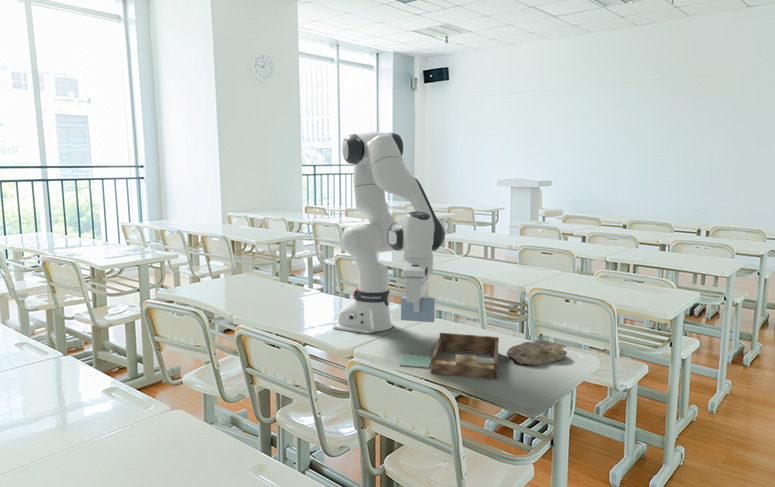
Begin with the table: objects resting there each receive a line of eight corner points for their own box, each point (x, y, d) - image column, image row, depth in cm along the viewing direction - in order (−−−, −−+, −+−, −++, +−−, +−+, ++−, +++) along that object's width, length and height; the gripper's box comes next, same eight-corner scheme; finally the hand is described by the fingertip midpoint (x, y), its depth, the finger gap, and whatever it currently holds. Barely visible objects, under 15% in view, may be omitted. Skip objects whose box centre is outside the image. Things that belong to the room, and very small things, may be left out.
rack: (430, 373, 160) (431, 355, 159) (439, 348, 181) (440, 332, 181) (496, 379, 156) (497, 360, 155) (498, 353, 177) (498, 337, 176)
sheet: (401, 320, 167) (401, 297, 166) (402, 318, 169) (402, 296, 168) (433, 322, 165) (433, 299, 164) (434, 320, 167) (434, 298, 166)
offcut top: (455, 366, 160) (455, 358, 159) (455, 362, 163) (455, 354, 162) (476, 367, 159) (476, 359, 159) (475, 363, 162) (476, 355, 162)
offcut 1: (435, 371, 162) (435, 363, 162) (436, 367, 165) (436, 360, 165) (455, 373, 161) (455, 365, 161) (456, 369, 164) (456, 361, 163)
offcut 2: (472, 375, 160) (472, 367, 159) (473, 371, 163) (473, 363, 162) (493, 377, 158) (493, 368, 158) (493, 373, 161) (493, 365, 161)
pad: (399, 365, 166) (399, 364, 166) (405, 355, 174) (405, 354, 174) (429, 368, 164) (429, 367, 164) (433, 358, 172) (433, 356, 172)
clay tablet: (522, 371, 163) (572, 360, 172) (523, 355, 163) (573, 345, 171) (494, 357, 176) (542, 347, 184) (494, 342, 175) (542, 333, 184)
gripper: (413, 259, 175) (413, 301, 177) (401, 271, 155) (401, 318, 157) (433, 260, 174) (432, 302, 176) (423, 272, 154) (422, 320, 156)
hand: (417, 310), depth 166 cm, fingers closed on sheet, 2 cm apart
